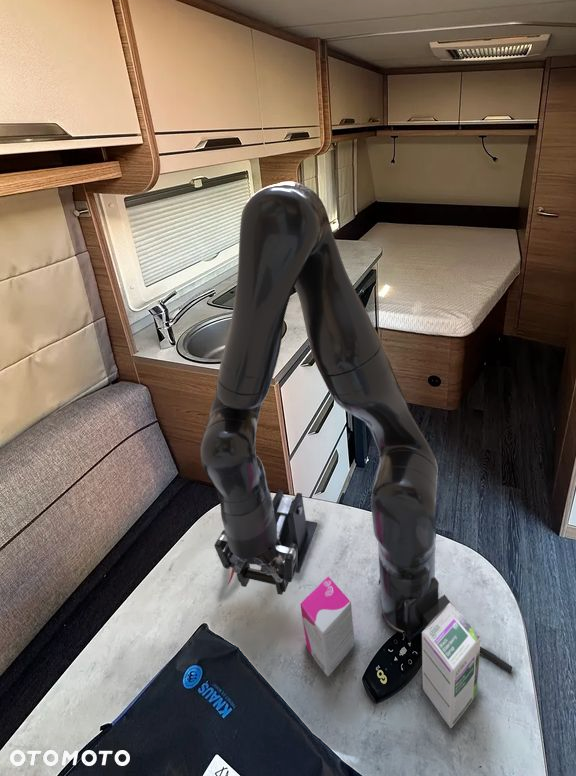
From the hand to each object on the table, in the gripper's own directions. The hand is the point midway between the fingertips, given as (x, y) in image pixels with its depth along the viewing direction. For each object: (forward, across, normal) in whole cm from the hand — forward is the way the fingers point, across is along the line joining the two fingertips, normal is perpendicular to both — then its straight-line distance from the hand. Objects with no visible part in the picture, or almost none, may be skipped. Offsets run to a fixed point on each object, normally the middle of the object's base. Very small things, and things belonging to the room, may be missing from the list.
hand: (264, 584), depth 68 cm
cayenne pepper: (+6, +10, -6) cm, 13 cm away
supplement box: (+6, -13, +4) cm, 15 cm away
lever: (-3, 0, -6) cm, 6 cm away
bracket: (+6, 0, -11) cm, 12 cm away
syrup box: (+6, -32, +5) cm, 33 cm away
